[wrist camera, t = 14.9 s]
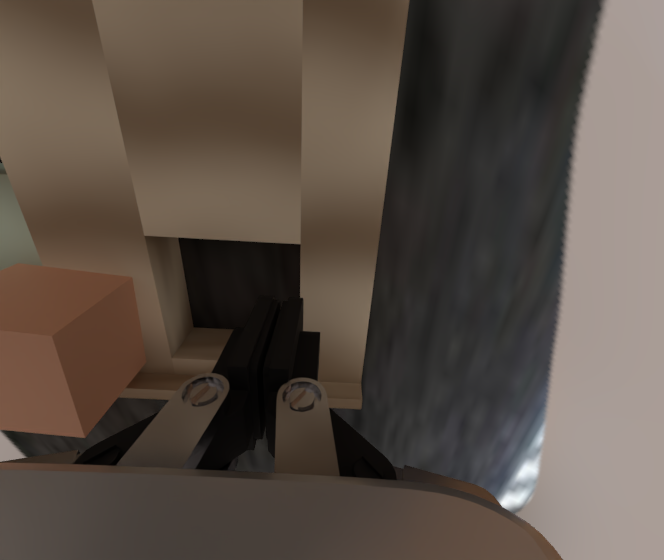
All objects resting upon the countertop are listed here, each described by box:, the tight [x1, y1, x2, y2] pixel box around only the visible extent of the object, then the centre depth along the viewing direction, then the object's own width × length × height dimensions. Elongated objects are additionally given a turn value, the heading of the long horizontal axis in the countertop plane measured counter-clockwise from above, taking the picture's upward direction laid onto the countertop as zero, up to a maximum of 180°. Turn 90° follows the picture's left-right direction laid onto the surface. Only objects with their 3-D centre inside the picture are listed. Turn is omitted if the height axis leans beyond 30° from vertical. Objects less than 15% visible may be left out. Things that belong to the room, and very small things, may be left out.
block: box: [0, 263, 146, 438], centre depth 12 cm, size 4×4×4 cm
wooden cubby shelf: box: [0, 0, 409, 409], centre depth 11 cm, size 17×20×6 cm
